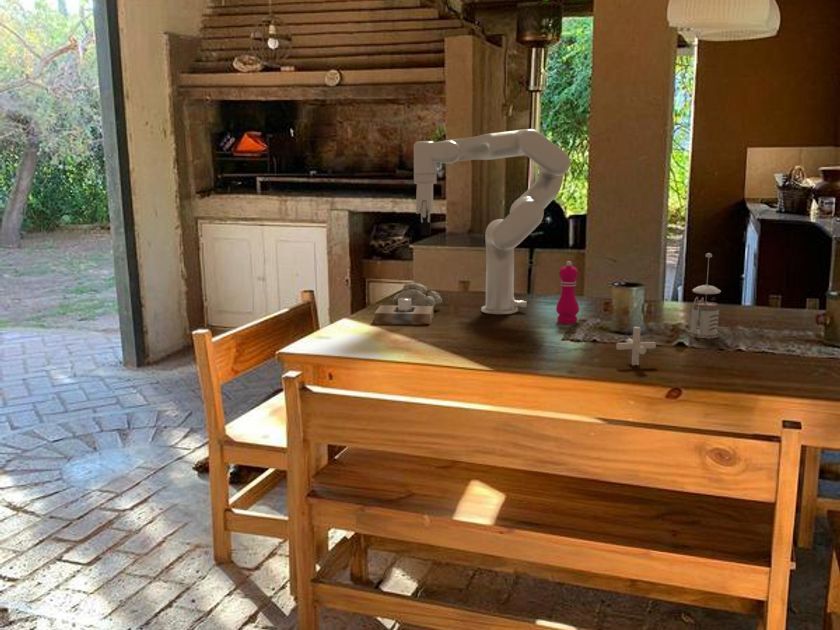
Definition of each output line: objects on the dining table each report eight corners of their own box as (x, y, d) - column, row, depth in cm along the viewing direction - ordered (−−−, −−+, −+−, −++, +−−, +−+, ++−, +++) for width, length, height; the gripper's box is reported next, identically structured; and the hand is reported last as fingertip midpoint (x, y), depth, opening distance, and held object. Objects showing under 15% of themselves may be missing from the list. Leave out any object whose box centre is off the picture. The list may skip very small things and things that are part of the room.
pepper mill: (553, 323, 267) (555, 262, 263) (558, 319, 273) (560, 259, 269) (575, 325, 264) (578, 263, 260) (580, 320, 271) (582, 260, 267)
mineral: (436, 307, 282) (441, 280, 284) (387, 302, 286) (392, 275, 288) (442, 318, 293) (447, 291, 296) (395, 313, 297) (400, 287, 300)
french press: (726, 335, 250) (732, 252, 245) (709, 341, 242) (715, 256, 237) (695, 330, 257) (700, 249, 252) (678, 336, 248) (683, 253, 243)
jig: (433, 316, 279) (433, 306, 278) (430, 324, 266) (430, 313, 266) (380, 315, 281) (380, 305, 280) (374, 323, 268) (374, 313, 267)
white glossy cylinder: (412, 318, 276) (412, 297, 274) (410, 321, 271) (410, 300, 270) (399, 318, 276) (398, 297, 275) (397, 321, 272) (397, 300, 270)
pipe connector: (610, 360, 222) (612, 323, 220) (646, 359, 223) (648, 322, 221) (622, 370, 212) (624, 332, 210) (660, 369, 213) (662, 331, 211)
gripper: (416, 178, 282) (416, 232, 286) (411, 180, 268) (412, 237, 272) (438, 178, 282) (438, 232, 285) (434, 180, 267) (435, 237, 271)
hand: (425, 234), depth 279 cm, fingers closed
